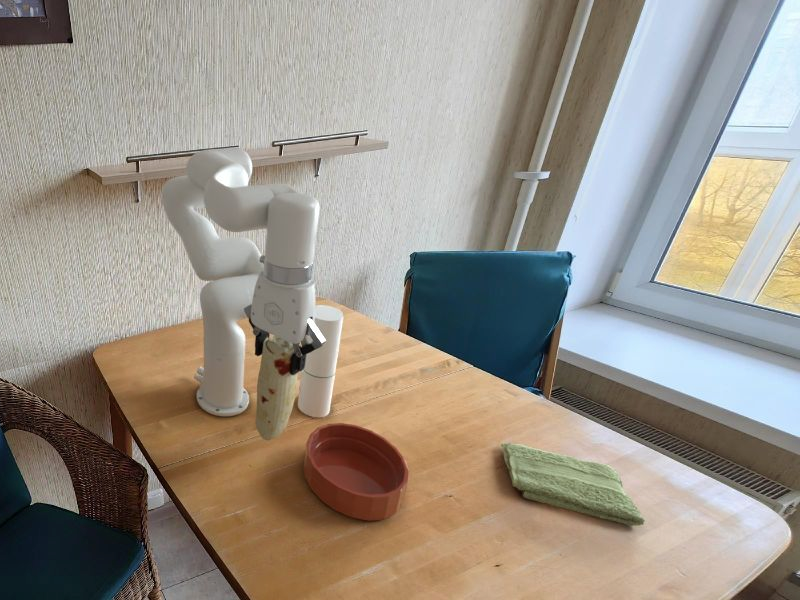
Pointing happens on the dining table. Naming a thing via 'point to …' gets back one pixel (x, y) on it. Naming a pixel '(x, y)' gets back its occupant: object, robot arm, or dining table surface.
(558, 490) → the washcloth
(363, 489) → the bowl
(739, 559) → the dining table surface
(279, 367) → the food model
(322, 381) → the cylindrical container
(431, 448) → the dining table surface
